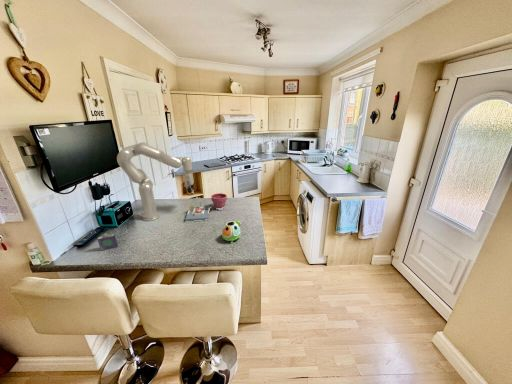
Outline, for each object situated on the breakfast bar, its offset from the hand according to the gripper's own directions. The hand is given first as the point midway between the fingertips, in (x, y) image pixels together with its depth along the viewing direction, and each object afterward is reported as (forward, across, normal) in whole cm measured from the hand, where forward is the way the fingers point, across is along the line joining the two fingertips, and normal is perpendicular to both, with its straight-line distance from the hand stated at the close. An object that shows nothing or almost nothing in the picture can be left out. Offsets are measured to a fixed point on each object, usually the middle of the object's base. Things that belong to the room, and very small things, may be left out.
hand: (190, 190), depth 176 cm
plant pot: (+21, +3, -24) cm, 32 cm away
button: (+16, -12, -6) cm, 21 cm away
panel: (+20, -9, -6) cm, 23 cm away
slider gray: (+18, -4, -13) cm, 22 cm away
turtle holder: (+21, -48, -35) cm, 63 cm away
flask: (+19, -52, +45) cm, 71 cm away
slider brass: (+17, -4, 0) cm, 18 cm away
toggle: (+17, 0, -7) cm, 18 cm away
